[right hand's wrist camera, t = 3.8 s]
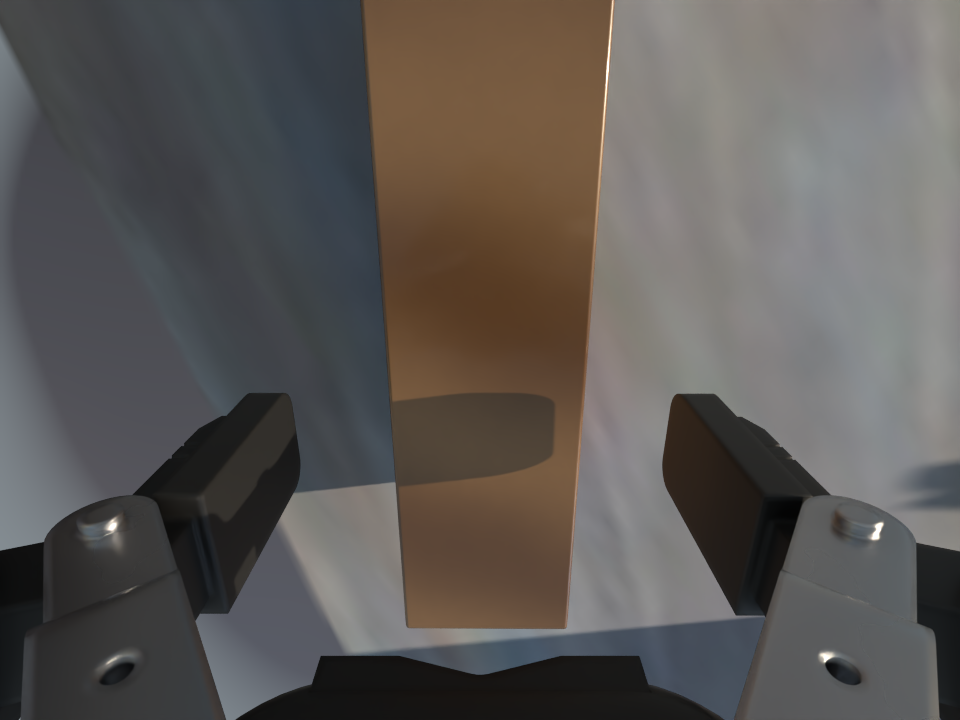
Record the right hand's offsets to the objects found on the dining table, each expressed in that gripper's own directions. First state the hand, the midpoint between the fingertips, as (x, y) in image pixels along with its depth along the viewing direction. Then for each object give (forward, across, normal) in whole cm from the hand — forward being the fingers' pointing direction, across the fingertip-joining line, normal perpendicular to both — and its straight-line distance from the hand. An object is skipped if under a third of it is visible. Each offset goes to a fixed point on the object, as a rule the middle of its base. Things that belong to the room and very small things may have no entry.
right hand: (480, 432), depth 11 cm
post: (+9, 0, -24) cm, 26 cm away
